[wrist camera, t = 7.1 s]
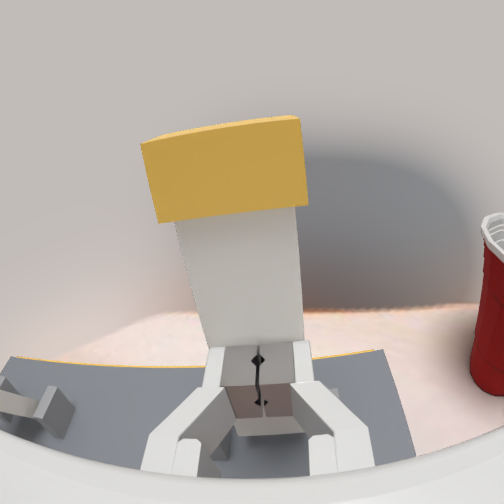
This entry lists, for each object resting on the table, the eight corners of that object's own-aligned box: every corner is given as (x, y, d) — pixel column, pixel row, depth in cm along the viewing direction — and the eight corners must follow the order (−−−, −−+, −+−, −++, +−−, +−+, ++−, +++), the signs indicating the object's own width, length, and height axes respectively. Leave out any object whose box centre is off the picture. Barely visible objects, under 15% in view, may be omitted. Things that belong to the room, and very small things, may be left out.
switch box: (9, 485, 14) (-60, 429, 10) (46, 398, 23) (-1, 334, 19) (395, 528, 11) (445, 491, 7) (369, 400, 20) (386, 318, 16)
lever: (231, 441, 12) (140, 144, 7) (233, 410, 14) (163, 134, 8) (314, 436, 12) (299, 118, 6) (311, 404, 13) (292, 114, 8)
